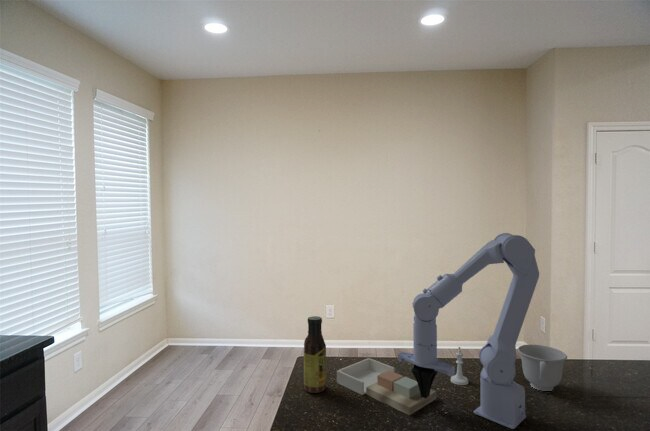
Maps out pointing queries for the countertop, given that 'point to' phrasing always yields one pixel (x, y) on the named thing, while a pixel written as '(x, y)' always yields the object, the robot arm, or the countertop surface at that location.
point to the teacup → (542, 366)
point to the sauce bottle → (314, 357)
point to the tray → (361, 374)
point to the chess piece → (459, 371)
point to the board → (399, 399)
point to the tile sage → (406, 387)
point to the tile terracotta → (388, 379)
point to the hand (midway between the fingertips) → (425, 396)
